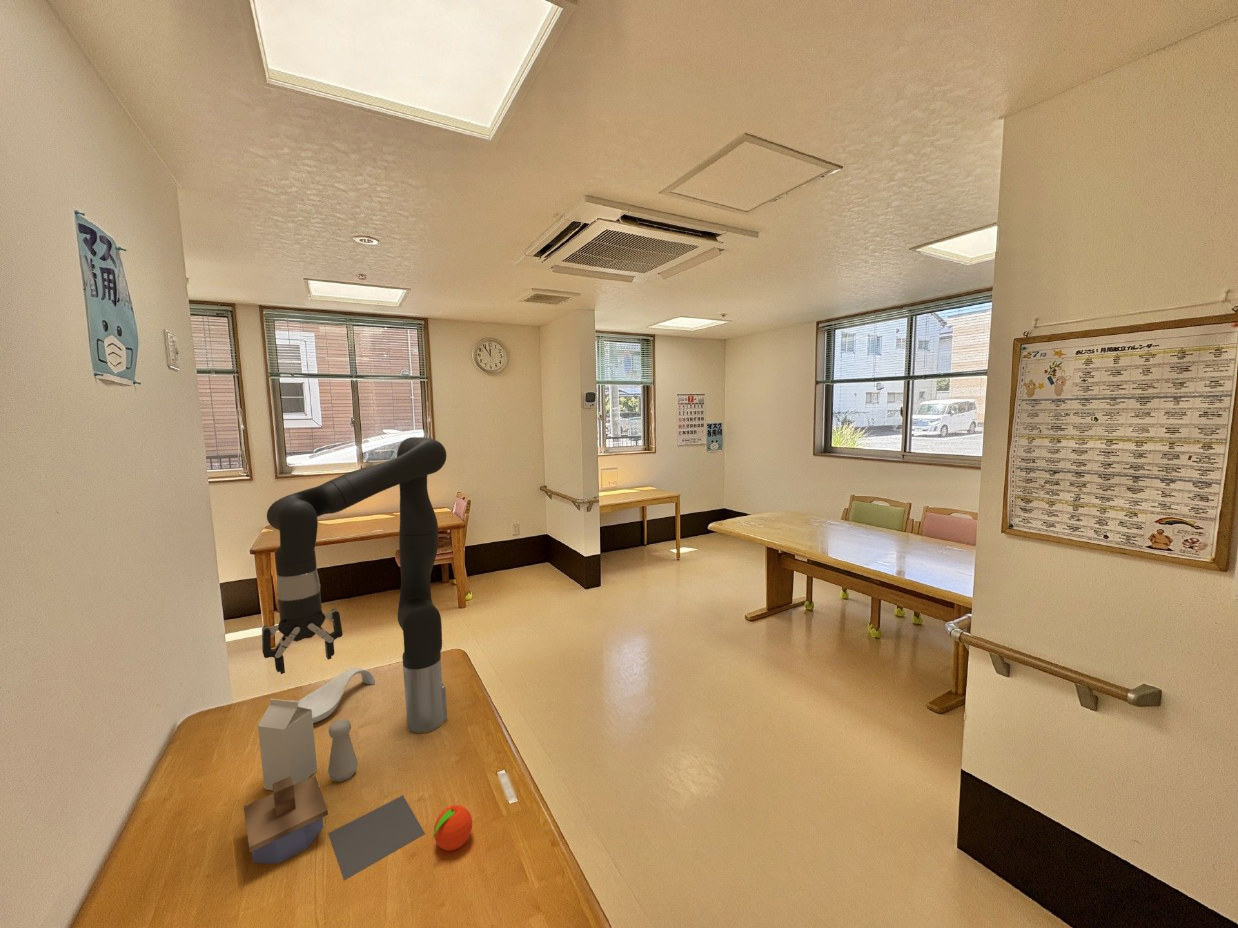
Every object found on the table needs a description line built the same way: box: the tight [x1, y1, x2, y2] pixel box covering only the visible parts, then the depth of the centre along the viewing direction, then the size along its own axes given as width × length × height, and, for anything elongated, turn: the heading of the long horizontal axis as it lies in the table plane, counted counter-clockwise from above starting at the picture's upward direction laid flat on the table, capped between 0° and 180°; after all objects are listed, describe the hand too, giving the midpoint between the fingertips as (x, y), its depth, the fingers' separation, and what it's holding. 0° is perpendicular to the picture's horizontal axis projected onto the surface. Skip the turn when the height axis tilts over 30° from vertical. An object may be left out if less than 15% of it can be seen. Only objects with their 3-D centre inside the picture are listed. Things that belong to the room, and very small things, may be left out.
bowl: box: [251, 817, 324, 865], centre depth 95 cm, size 11×11×6 cm
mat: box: [328, 794, 426, 881], centre depth 95 cm, size 14×13×1 cm
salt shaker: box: [327, 718, 358, 783], centre depth 110 cm, size 6×6×13 cm
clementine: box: [432, 804, 473, 852], centre depth 92 cm, size 8×7×7 cm
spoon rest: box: [298, 667, 376, 724], centre depth 139 cm, size 24×12×7 cm, turn 160°
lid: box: [243, 775, 329, 853], centre depth 94 cm, size 12×12×6 cm
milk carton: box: [257, 698, 318, 792], centre depth 109 cm, size 7×7×19 cm
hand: (306, 664), depth 105 cm, fingers open, 8 cm apart
